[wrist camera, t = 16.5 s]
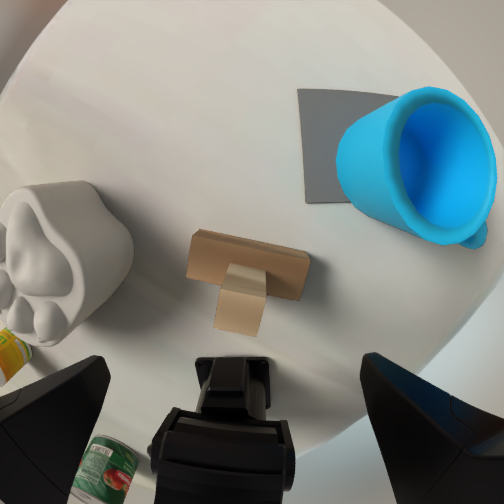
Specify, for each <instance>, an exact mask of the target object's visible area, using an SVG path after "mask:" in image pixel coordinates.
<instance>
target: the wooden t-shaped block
mask: <svg viewBox="0 0 504 504" xmlns="http://www.w3.org/2000/svg"><path fill="white" fill-rule="evenodd" d="M310 262H311V260H310V258H309V256H308V255H307V253H306V251H301V250H297V249H292V248H287V247H283V246H278V245H273V244H269V243H264V242H259V241H255V240H250V239H245V238H240V237H236V236H231V235H226V234H221V233H216V232H212V231H207V230H202V229H199V230H198V231H197V232H196V233H195V234H193V235H192V240H191V246H190V253H189V260H188V267H187V274H186V278H191V279H195V280H199V281H204V282H208V283H213V284H217V285H222V286H221V288H220V293H219V299H218V304H217V310H216V316H215V321H214V327H213V328H215V329H220V330H225V331H229V332H234V333H239V334H244V335H249V336H254V337H257V333H258V329H259V325H260V321H261V317H262V314H263V310H264V306H265V302H266V295H270V296H275V297H281V298H286V299H291V300H296V301H300V297H301V294H302V290H303V287H304V283H305V280H306V276H307V273H308V269H309V266H310Z"/></svg>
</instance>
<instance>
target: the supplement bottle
mask: <svg viewBox="0 0 504 504" xmlns="http://www.w3.org/2000/svg"><path fill="white" fill-rule="evenodd" d="M31 357H32V351H31V347H30V345H29V344H28V343H26V342H24V341H22V340H21V339H19V338H18V337H17V336H15V335H14V334H13V333H12V332H11V331H10V330H9V329H8V328H7V327H6V328H5V329H3V330H2V331H0V387H2V386H4V385H5V384H6V383H7V382H8V381H9V380H10V379H11V378H12V377H13V376H14V375H15V374H16V373H17V372H18V371H19V370H20V369H21V368H22V367H23V366H24V365H25V364H26V363H27V362H28V361H29V360H30V359H31Z"/></svg>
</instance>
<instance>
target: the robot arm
mask: <svg viewBox="0 0 504 504" xmlns="http://www.w3.org/2000/svg"><path fill="white" fill-rule="evenodd" d="M199 362H201V363H203V364H200V363H199ZM261 362H265V363H264V364H262V363H261ZM195 367H196V371H197V376H198V380H199V384H200V388H201V393H200V397H199V401H198V404H197V408H196V412H191V411H185V410H181V409H180V408H176V407H173V408H172V410H171V412H170V413H169V414H168V415H167V417H166V418H165V420H164V421H163V423H162V425H161V426H160V428H159V429H158V431H157V433H156V434H155V436H154V437H153V439H152V443H151V444H150V445H149V446H148V448H147V453H148V454H149V456H150V457H151V470H152V473H153V474H154V475H157V482H156V495H155V500H154V504H282V498H283V491H290V490H291V487H292V484H293V481H294V475H295V450H294V446H293V442H292V438H291V434H290V430H289V426H288V422H287V420H280V421H267V420H266V409H268V408H270V406H271V402H270V378H269V360H268V359H267V358H266V357H247V358H244V357H234V358H197V359H196V361H195ZM110 380H111V375H110V372H109V369H108V367H107V364H106V362H105V359H104V358H103V357H102V356H96V355H92V356H90V357H88V358H86V359H84V360H82V361H80V362H77V363H75V364H73V365H71V366H69V367H67V368H65V369H62V370H60V371H58V372H56V373H54V374H52V375H49V376H47V377H45V378H43V379H41V380H38V381H36V382H34V383H32V384H29V385H27V386H25V387H23V388H20V389H18V390H16V391H14V392H11V393H9V394H6V395H4V396H1V397H0V504H67V501H68V497H69V494H70V491H71V488H72V485H73V482H74V479H75V477H76V474H77V471H78V468H79V465H80V462H81V460H82V457H83V454H84V452H85V449H86V447H87V444H88V441H89V439H90V436H91V434H92V431H93V429H94V426H95V424H96V422H97V419H98V417H99V414H100V412H101V409H102V405H103V402H104V399H105V396H106V392H107V389H108V386H109V383H110ZM360 381H361V385H362V389H363V394H364V398H365V403H366V407H367V412H368V416H369V419H370V422H371V425H372V427H373V430H374V433H375V436H376V439H377V442H378V445H379V448H380V451H381V454H382V457H383V460H384V463H385V466H386V469H387V472H388V476H389V479H390V482H391V485H392V488H393V492H394V495H395V499H396V502H397V504H504V419H503V418H500V417H498V416H495V415H493V414H490V413H488V412H485V411H483V410H481V409H478V408H476V407H474V406H471V405H469V404H468V403H466V402H463V401H462V400H459V399H458V398H456V397H454V396H451V395H450V394H449V393H447V392H445V391H443V390H441V389H440V388H438V387H436V386H434V385H432V384H431V383H429V382H427V381H425V380H423V379H422V378H420V377H418V376H416V375H415V374H413V373H411V372H409V371H408V370H406V369H404V368H402V367H401V366H399V365H397V364H395V363H394V362H392V361H390V360H388V359H387V358H385V357H383V356H382V355H380V354H378V353H376V352H373V353H367V354H365V355H364V356H363V359H362V365H361V370H360ZM265 404H267V405H265Z"/></svg>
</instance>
